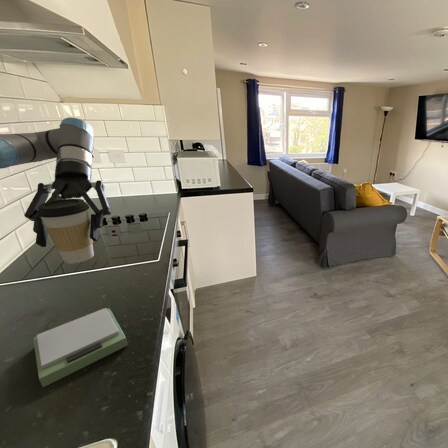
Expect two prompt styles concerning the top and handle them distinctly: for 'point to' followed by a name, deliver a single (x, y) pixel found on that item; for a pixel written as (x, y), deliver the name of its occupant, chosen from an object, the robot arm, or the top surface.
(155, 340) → the top surface
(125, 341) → the kitchen scale
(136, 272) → the top surface
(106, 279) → the top surface
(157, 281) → the top surface
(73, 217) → the coffee cup
